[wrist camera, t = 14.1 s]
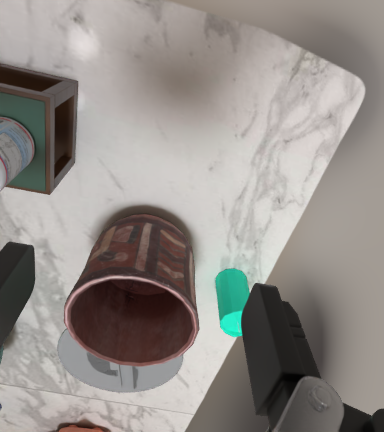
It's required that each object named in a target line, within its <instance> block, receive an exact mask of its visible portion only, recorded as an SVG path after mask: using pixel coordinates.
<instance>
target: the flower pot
mask: <svg viewBox="0 0 384 432" xmlns="http://www.w3.org/2000/svg"><path fill="white" fill-rule="evenodd" d="M2 355H3V346H2V347H1V349H0V363H1V359H2Z"/></svg>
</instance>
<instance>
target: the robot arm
mask: <svg viewBox="0 0 384 432" xmlns="http://www.w3.org/2000/svg"><path fill="white" fill-rule="evenodd" d="M34 284H35V257H34V247H33V246H32V245H27V244H21V243H15V242H8V243H7V244H6V245H5V246H4V247H3V249H2V250H1V251H0V349H1V347H2V346H3V344H4V342H5V340H6V338H7V337H8V335H9V333H10V331H11V330H12V328H13V326H14V324H15V322H16V321H17V319H18V317H19V315H20V314H21V312H22V310H23V308H24V306H25V305H26V303H27V301H28V299H29V298H30V296H31V294H32V291H33V288H34ZM241 330H242V336H243V342H244V347H245V353H246V358H247V365H248V370H249V376H250V382H251V388H252V394H253V400H254V406H255V411H256V415H261V416H268V420H269V425H270V426H269V427H268V429H267V431H266V432H384V409H379V410H377V411H376V412H375V413H374V414H373V415H372V416H371V415H369V414H366V413H364V412H362V411H360V410H358V409H355V408H353V407H351V406H349V405H347V404H344V403H343V402H342V400H341V398H340V396H339V395H338V393H337V392H336V391H335V390H334V388H333V387H332V386H330V385H329V384H328V383H327V382H325V381H323V380H322V379H321V377H320V374H319V372H318V369H317V366H316V363H315V361H314V358H313V355H312V353H311V350H310V347H309V344H308V342H307V339H305V334H304V331H303V329H302V328H301V323H300V320H299V317H298V315H297V313H296V312H295V310H294V309H293V308H292V307H291V305H290V304H289V303H288V302H285V301H282V300H281V298H280V294H279V291H278V289H277V287H276V286H272V285H266V284H260V283H255V284H254V286H253V288H252V290H251V293H250V295H249V297H248V300H247V302H246V304H245V306H244V309H243V311H242V316H241Z"/></svg>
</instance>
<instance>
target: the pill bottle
mask: <svg viewBox="0 0 384 432" xmlns="http://www.w3.org/2000/svg"><path fill="white" fill-rule="evenodd" d="M34 149H35V148H34V142H33V139H32V137H31V135H30V133H29V132H28V131H27V129H26V128H25V127H24V126H22V125H21V124H20V123H18V122H16V121H15V120H12V119H10V118H6V117H0V191H1V190H2V189H3V188H4V187H5V186H6V185H7V184H8V183H9V182H11V181H12V180H13V179H14V178H15V177H16V176H17V175H18V174H19V173H20V172H21V171H22V170H23V169H24V168H25V167H26V166H27V165H28V164H29V163H30V162H31V161H32V159H33V156H34Z"/></svg>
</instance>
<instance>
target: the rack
mask: <svg viewBox="0 0 384 432" xmlns="http://www.w3.org/2000/svg"><path fill="white" fill-rule="evenodd" d="M77 95H78V81H75V80H70V79H66V78H61V77H57V76H53V75H48V74H44V73H39V72H35V71H31V70H26V69H22V68H17V67H13V66H9V65H4V64H0V117H6V118H10V119H12V120H15V121H16V122H18V123H20V124H21V125H22V126H24V127H25V128H26V129H27V131H28V132H29V133H30V135H31V137H32V139H33V142H34V148H35V149H34V156H33V159H32V161H31V162H30V163H29V164H28V165H27V166H26V167H25V168H24V169H23V170H22V171H21V172H20V173H19V174H18V175H17V176H16V177H15V178H14V179H13V180H12V181H11V182H9V183H8V184H7V185H6V186H5V187H10V188H15V189H21V190H26V191H32V192H37V193H43V194H48V195H50V194H51V193H52V192H53V190H54V189H55V188H56V187H57V185H58V184H59V183H60V181H61V180H62V179H63V177H64V176H65V175H66V174H67V172H68V171H69V170H70V168H71V167H72V166H73V165H74V163H75V143H76V119H77ZM54 163H55V164H54Z"/></svg>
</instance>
